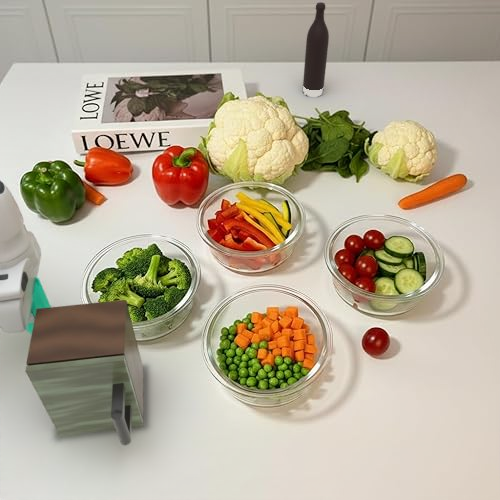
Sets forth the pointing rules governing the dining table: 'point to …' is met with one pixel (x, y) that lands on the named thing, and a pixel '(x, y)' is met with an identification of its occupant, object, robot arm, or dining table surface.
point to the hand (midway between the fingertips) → (32, 307)
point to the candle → (38, 301)
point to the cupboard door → (88, 396)
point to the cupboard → (87, 337)
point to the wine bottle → (316, 51)
